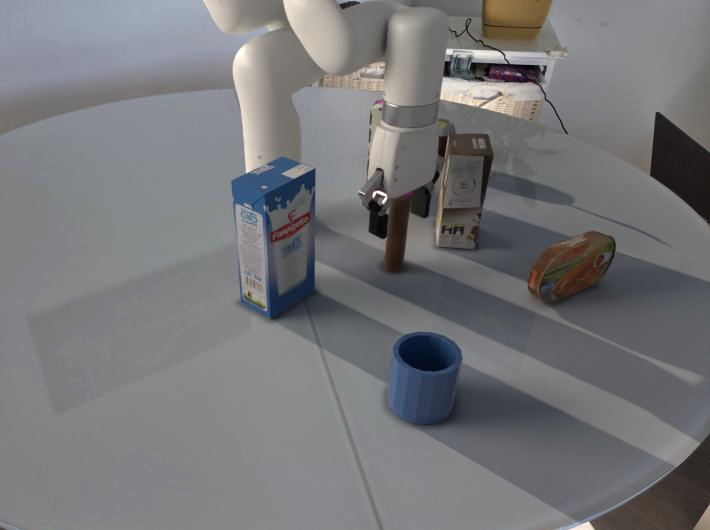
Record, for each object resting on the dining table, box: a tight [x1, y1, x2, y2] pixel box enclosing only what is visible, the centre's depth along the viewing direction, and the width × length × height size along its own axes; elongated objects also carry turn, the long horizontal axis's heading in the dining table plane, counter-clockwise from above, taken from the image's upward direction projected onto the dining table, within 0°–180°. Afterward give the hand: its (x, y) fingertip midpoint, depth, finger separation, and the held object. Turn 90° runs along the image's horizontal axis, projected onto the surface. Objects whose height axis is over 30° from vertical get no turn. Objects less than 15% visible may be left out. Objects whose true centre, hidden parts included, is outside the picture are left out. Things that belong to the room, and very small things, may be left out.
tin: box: [527, 230, 617, 304], centre depth 92 cm, size 15×3×8 cm, turn 118°
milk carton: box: [230, 157, 317, 320], centre depth 91 cm, size 10×6×20 cm, turn 134°
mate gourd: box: [438, 117, 457, 158], centre depth 127 cm, size 8×8×15 cm
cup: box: [386, 331, 464, 425], centre depth 76 cm, size 8×8×8 cm
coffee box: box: [435, 132, 495, 250], centre depth 104 cm, size 9×6×16 cm
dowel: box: [383, 195, 411, 273], centre depth 98 cm, size 3×3×12 cm
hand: (398, 224), depth 97 cm, fingers open, 8 cm apart
